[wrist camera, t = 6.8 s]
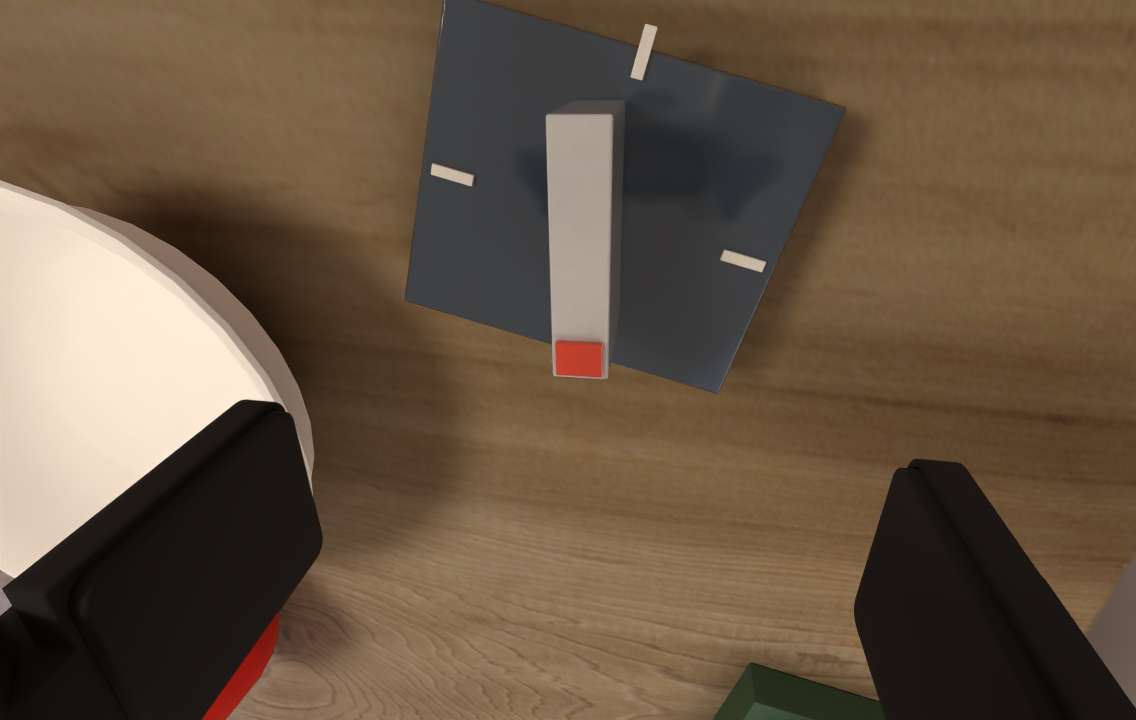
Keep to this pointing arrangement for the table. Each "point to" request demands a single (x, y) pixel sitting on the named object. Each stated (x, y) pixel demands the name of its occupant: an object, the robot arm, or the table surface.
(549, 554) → the table surface
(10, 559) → the bowl
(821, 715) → the green button base
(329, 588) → the table surface
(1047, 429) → the table surface
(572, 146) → the grey block
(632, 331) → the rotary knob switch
